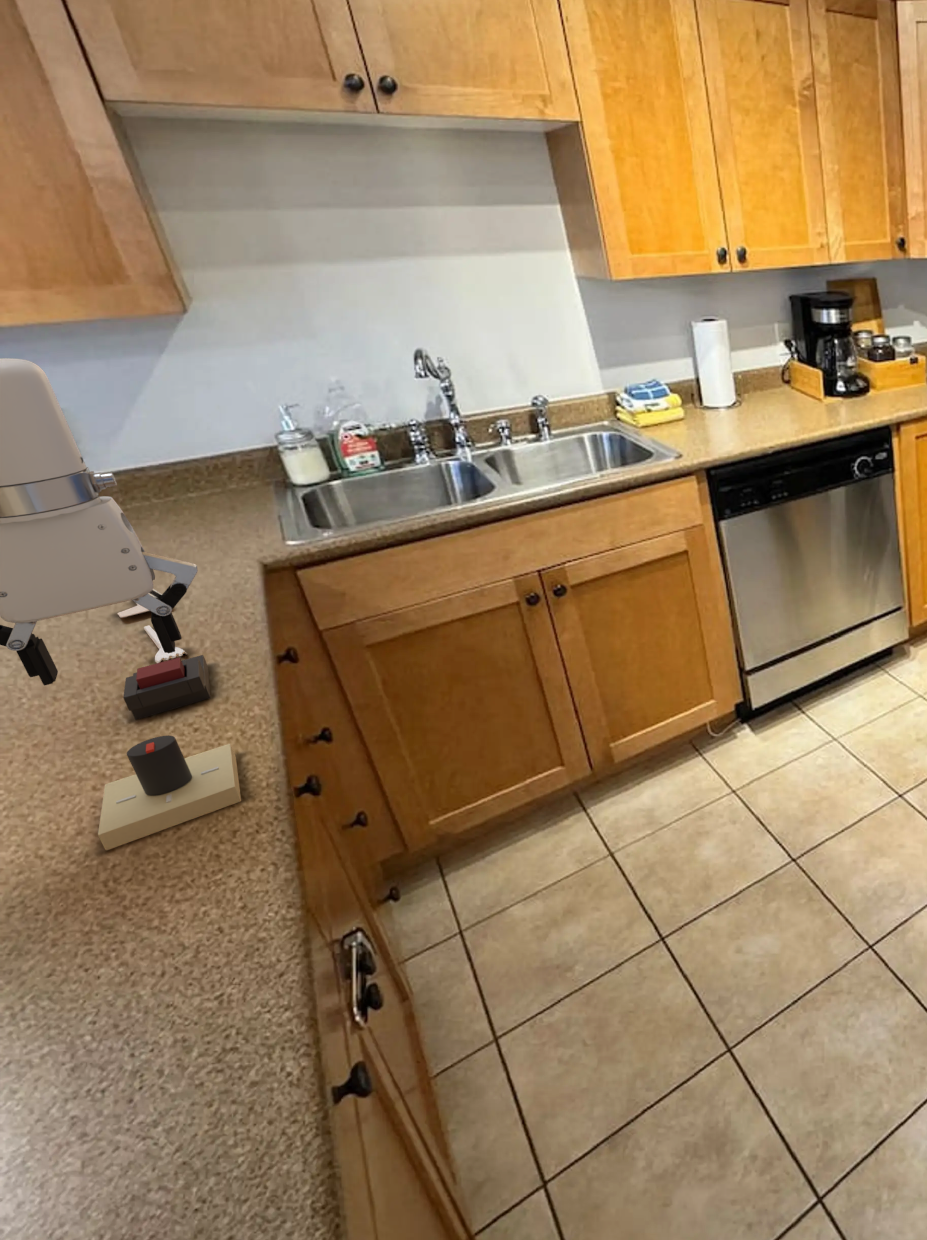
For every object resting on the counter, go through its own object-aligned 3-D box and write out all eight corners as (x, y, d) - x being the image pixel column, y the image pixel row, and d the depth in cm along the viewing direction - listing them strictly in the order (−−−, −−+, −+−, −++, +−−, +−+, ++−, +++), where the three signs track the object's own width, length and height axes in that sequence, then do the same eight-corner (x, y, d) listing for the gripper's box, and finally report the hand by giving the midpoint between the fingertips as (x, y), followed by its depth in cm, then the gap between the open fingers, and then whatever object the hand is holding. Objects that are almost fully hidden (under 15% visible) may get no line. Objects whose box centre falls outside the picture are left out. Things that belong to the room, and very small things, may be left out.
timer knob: (145, 785, 82) (125, 743, 80) (192, 769, 84) (173, 728, 82) (144, 800, 79) (124, 758, 78) (192, 784, 82) (173, 742, 80)
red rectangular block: (142, 680, 100) (137, 668, 99) (184, 668, 103) (179, 657, 102) (141, 691, 97) (135, 679, 97) (185, 679, 100) (180, 667, 99)
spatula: (124, 625, 124) (120, 617, 123) (98, 583, 141) (95, 576, 140) (176, 611, 128) (173, 603, 128) (145, 572, 145) (142, 565, 145)
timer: (112, 799, 83) (104, 782, 82) (236, 757, 90) (229, 741, 89) (105, 851, 76) (96, 833, 75) (241, 801, 82) (234, 785, 81)
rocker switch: (138, 685, 106) (127, 660, 104) (208, 666, 110) (197, 642, 109) (135, 725, 96) (122, 697, 95) (211, 702, 101) (199, 676, 100)
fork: (162, 626, 123) (158, 616, 122) (193, 661, 112) (188, 649, 111) (133, 634, 120) (129, 623, 120) (162, 670, 109) (157, 659, 109)
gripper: (167, 469, 79) (228, 622, 85) (-108, 510, 68) (-16, 683, 74) (167, 483, 74) (231, 645, 80) (-131, 529, 63) (-30, 714, 69)
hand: (112, 662), depth 77 cm, fingers open, 7 cm apart
